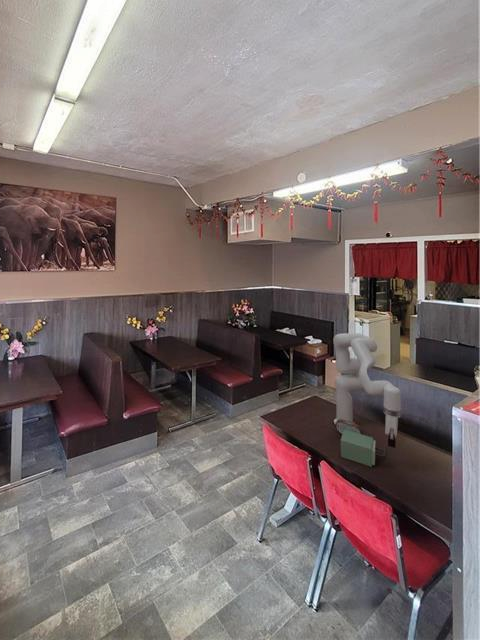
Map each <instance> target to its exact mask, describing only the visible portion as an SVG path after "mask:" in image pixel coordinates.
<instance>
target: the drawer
mask: <svg viewBox="0 0 480 640" xmlns="http://www.w3.org/2000/svg"><path fill="white" fill-rule="evenodd" d="M376 450H378V451H382V454H379V453H376V452H377V451H376ZM376 456H378V457H381V458H383V459H384V460H385V459H386V458H387V449H385V448H379V447H377V441H376V440H375V439H373V445H372V466H375V465H376Z"/></svg>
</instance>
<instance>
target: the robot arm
mask: <svg viewBox="0 0 480 640" xmlns="http://www.w3.org/2000/svg"><path fill="white" fill-rule="evenodd" d="M332 341H333V342H332V343H333V347H334V350H335V366H336V370H337V372H338V373H340V374H341V375H338V376H336V377H335V378H334V386H335V398H336V401H335V403H336V404H335V405H336V407H335V408H336V409H335V411H336V415H335V418H334V419H333V424H334V425H335V426H336V422H337V421H338V420H339V419H343V420H346V421H348V422H351V423H354V424H356V423H355V422H354V421H353V418H354V412H353V408H354V407H353V406H354V401H353V396H352V394H351V393H350V392H353V391H354V392H355V391H358V392H359V391H362V390H364V391H365V393H367V394H368V395H369V396H373V397H379V396H382V397H383V413H384V415H385V425H384V427H385V429H384V431H385V435H387V436H388V437H387V446H388V447H390V448H393V449H396V443H397V442H396V438H397V435H398V428H399V427H398V425H399V418H401V417H402V391H401V389H400V388H399V387H397V386H394V385H393V383H392V382H390V381H389V380H386V379H385V380H384V379H383V380H381V379H380V380H371V379H370V377H369V374H368V369H371V368H372V367H374V366H375V365H376V364H377V361H376V359H375V357H374V355H373V353H375V352H376V351H377V350H378V344H377V343H376V340H374V338H372V337H370V336H367V335H365V334H363V333H361V332H360V333H359V332H352V333H349V332H346V333H337V334H334V336H333V340H332ZM349 348H351V349H352V351H353V353H354V355H355V357H351V351H350V349H349Z"/></svg>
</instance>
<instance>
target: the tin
mask: <svg viewBox="0 0 480 640" xmlns="http://www.w3.org/2000/svg"><path fill="white" fill-rule="evenodd" d="M354 423H355V422H354ZM354 423H351V422H348V421H346V420H343V419H339V420H338V421H337V422H336V425H335V429H336V431H337V432H338V433H339V434H341V435H342V434H343V431H344V430H348V431H351V432H355V433H358V434H362V435H364V430H363V429H362V427H361V426H360V425H359V424H357V423H355V424H354Z"/></svg>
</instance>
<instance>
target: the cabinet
mask: <svg viewBox="0 0 480 640" xmlns="http://www.w3.org/2000/svg"><path fill="white" fill-rule="evenodd" d="M373 440H374V437H372V436H368V435H365V434H363V435H362V434H358V433H355V432H351V431H348V430H344V431H343V434H341V438H340V457H341V458H343V459H345V460H350V461H352V462H355V463H359V464H361V465H364V466H368V467H370V468H372V467H373V465H372V445H373Z"/></svg>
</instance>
